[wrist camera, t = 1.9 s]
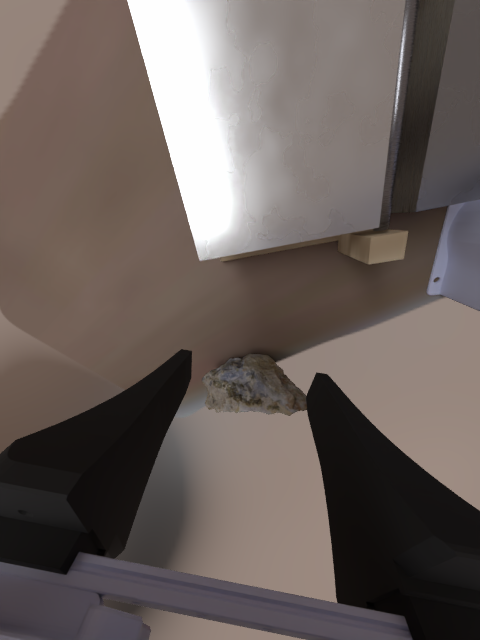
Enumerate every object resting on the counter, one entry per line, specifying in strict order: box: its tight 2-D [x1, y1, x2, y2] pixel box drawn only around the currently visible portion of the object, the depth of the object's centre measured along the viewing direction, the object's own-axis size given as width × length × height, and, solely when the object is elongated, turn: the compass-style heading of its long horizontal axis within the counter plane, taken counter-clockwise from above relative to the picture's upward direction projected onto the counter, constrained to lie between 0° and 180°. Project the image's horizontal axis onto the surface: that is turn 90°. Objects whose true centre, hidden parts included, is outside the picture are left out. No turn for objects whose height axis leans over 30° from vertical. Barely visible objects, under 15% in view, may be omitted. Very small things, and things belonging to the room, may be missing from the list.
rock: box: [202, 354, 307, 416], centre depth 22 cm, size 11×6×10 cm
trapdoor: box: [128, 0, 480, 261], centre depth 12 cm, size 12×18×4 cm
